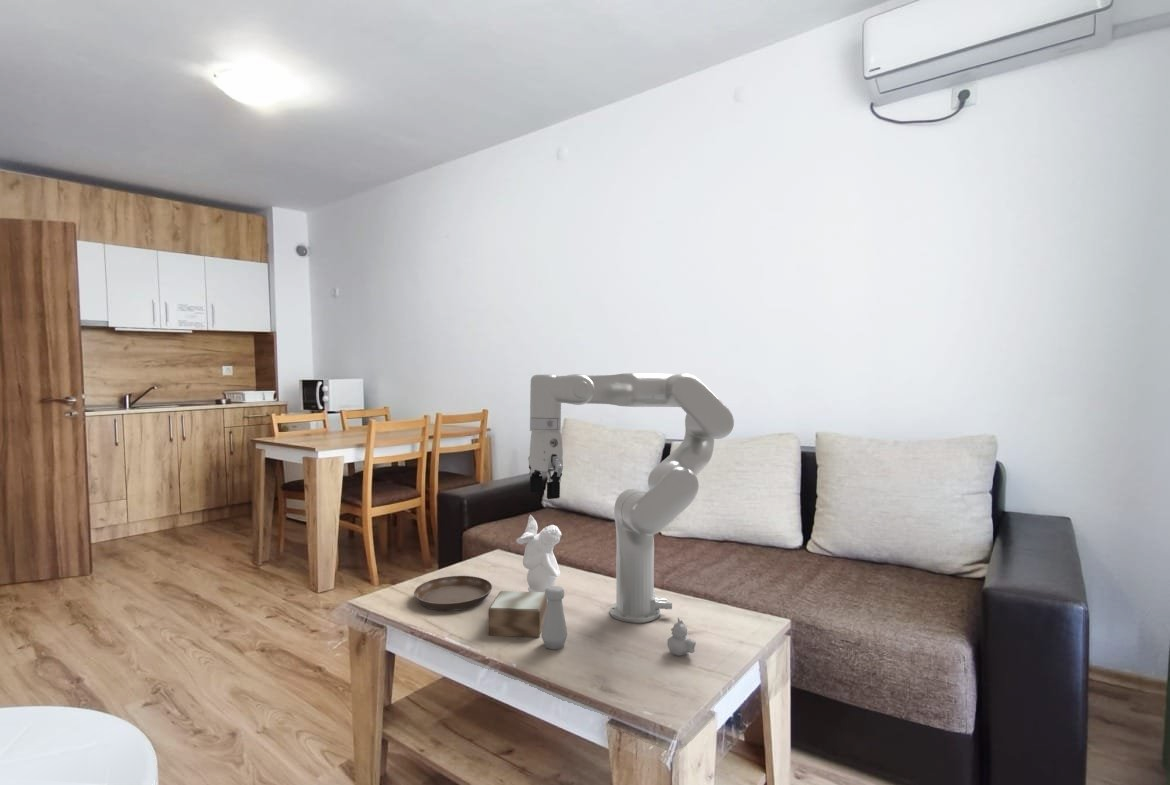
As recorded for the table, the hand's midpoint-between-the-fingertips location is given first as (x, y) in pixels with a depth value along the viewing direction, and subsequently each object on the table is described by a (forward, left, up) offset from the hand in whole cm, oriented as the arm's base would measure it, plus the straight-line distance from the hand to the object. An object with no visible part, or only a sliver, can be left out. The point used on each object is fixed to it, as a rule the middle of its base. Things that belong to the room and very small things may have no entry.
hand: (544, 495), depth 145 cm
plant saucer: (+27, -14, -32) cm, 44 cm away
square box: (+6, +2, -31) cm, 32 cm away
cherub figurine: (+5, -16, -32) cm, 35 cm away
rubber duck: (-32, +14, -32) cm, 47 cm away
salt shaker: (-4, +12, -32) cm, 34 cm away
